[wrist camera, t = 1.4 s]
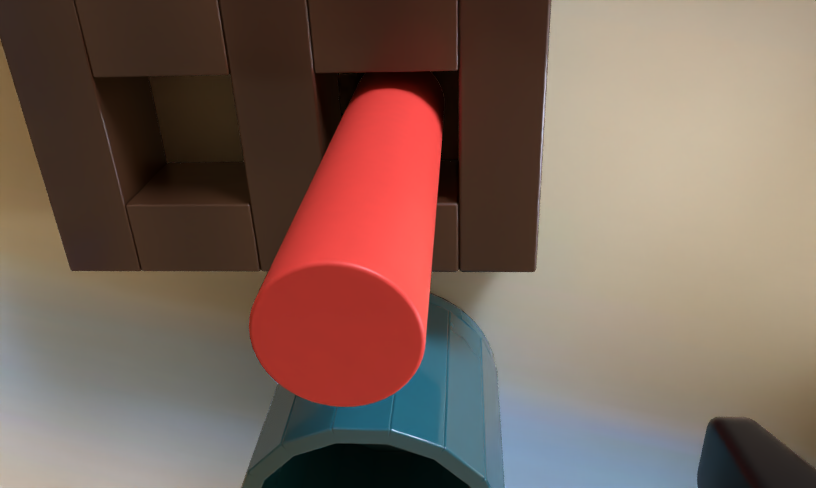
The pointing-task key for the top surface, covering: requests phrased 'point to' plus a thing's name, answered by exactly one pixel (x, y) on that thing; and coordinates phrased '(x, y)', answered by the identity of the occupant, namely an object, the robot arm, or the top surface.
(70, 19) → the block with rectangular holes
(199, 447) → the top surface
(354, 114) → the red cylinder rod
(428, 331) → the tumbler
